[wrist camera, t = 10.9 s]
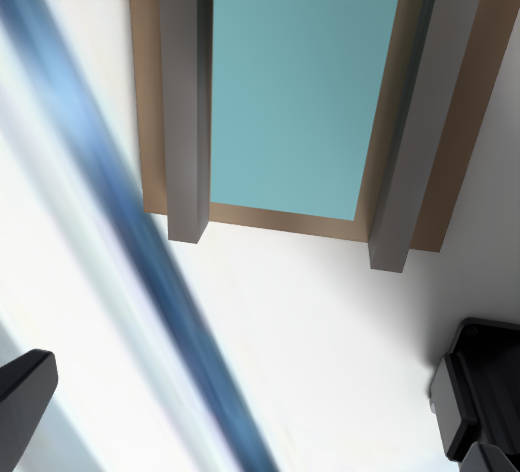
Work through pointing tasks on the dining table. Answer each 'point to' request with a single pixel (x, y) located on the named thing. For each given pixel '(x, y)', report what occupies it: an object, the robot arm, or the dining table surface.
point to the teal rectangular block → (295, 101)
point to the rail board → (382, 135)
